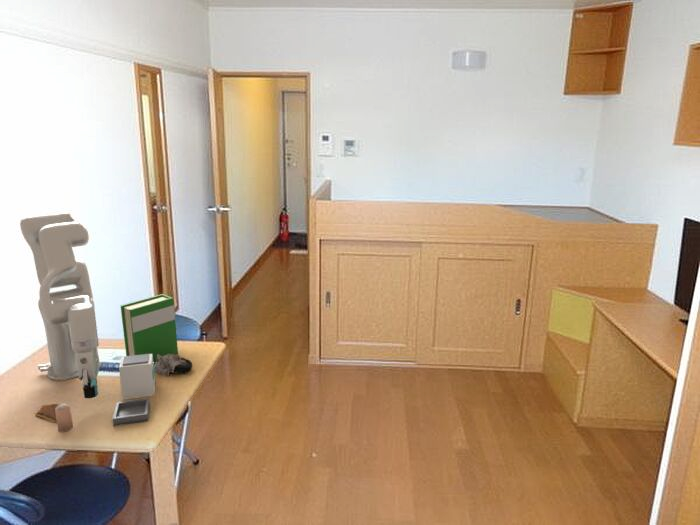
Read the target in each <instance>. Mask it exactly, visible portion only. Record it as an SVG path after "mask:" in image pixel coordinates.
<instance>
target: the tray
mask: <svg viewBox="0 0 700 525" xmlns="http://www.w3.org/2000/svg"><path fill="white" fill-rule="evenodd" d="M115 403H116V404H115V408H114V411H113V416H112V425H113V427H116V426H123V425H130V424H137V423H144V422H148V421H149V416H150V415H149V414H150V408H151V407H150V406H151V402H150V397H148V398H147V397H146V398H141V399H139V398H138V399H132V400H123V401H117V402H115Z"/></svg>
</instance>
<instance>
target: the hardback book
mask: <svg viewBox="0 0 700 525" xmlns="http://www.w3.org/2000/svg"><path fill="white" fill-rule="evenodd" d="M174 303H175V301H174V297H171V296H170V295H167V294H165V293H161V294H157V295H154V296H150V297H147V298H143V299H139V300H135V301H132V302H128V303H124V304H121V305H120V311H121V312H120V313H121V322H122V329H123V330H122V331H123V338H124V348H125V356H133V355H142V354H152V355H153V362H155V363H156V359H157V354H158V355H160V356H165V355H167V354H176V355H178V354H179V350H178V349H179V348H178V338H177V337H178V336H177V325H176V314H175V313H176V312H175V304H174Z"/></svg>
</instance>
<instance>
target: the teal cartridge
mask: <svg viewBox="0 0 700 525" xmlns="http://www.w3.org/2000/svg"><path fill="white" fill-rule="evenodd" d="M88 377H89V376H88ZM88 382H90V380H88ZM90 383H91V382H90ZM97 385H98V377H97V378H96V379H93V386H95V395H96V396H95V397H93V398H87V399H90V400H91V399H94V398H97V397H98V396H99V389H98V388H99V386H98V387H97Z"/></svg>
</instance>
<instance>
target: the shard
mask: <svg viewBox="0 0 700 525" xmlns="http://www.w3.org/2000/svg"><path fill="white" fill-rule="evenodd" d="M61 404H62V403H57V402H56V403H49V404H42V405H41V406H40V407H39V410H38V411H36V412H35V413H34V414H35V416H36V417H40V418H43V419H45V420H47V421H50V422H52V423H56V424H57V419H56V413H55V408H56V407H57V406H59V405H61Z"/></svg>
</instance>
